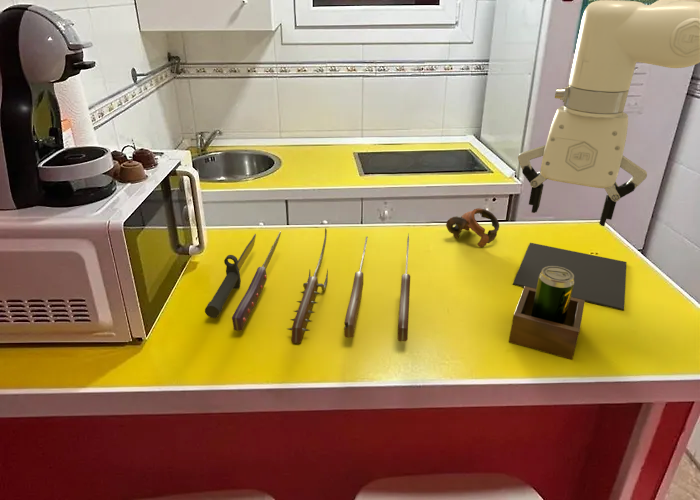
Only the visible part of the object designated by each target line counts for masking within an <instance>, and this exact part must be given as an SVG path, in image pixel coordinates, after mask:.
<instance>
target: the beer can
mask: <svg viewBox="0 0 700 500" xmlns="http://www.w3.org/2000/svg"><path fill="white" fill-rule="evenodd" d="M573 286H574V274H573V273H572V272H571V271H569V270H568V269H565V268H562V267H558V266H548V267H545V268H543V269H542V272H541V273H540V275H539V279H538V283H537V288H536V293H535V298H534V303H533V308H532V312H531V316H532V317H536V318H540V319H544V320H548V321H552V322H556V323H560V324H563V325H564V323H565V319H566V315H567V311H568V306H569V302H570V298H571V294H572V290H573Z"/></svg>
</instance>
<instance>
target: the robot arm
mask: <svg viewBox="0 0 700 500" xmlns="http://www.w3.org/2000/svg"><path fill="white" fill-rule="evenodd" d="M583 11H584V12H583V15H582V18H581V22H580V28H579V33H578V36H577V37H578V38H577V42H576V47H575V52H574V57H573V61H572V62H573V63H572V66H571V67H572V68H571V70H570V77H569V80H568V85H567V86H565V87H562V88H557V87H556V90H555V94H554V99H558V100H560V101H562V103H563V105H561V106H560V107H558V108H557V109H556V111H555V114H554V116H553V119H552V122H551V125H550V128H549V132H548V135H547V139H546V142H545V144H544V145H541V146H537V147H535V148H531V149H528V150H525V151H522V152H520V153H519V155H518V156H517V160H518V163H519V166H520V168H521V172H522V174H523V176H524V178H526V180H527V181H528V182H529V185H530V187H531V190H530V195H529V200H528V206H532V208H531V213H532V214H536V213H538V210H539V208H540V204H541V200H542V194H543V191H544V186H545V185H544V182H545V181H547V180H550V181H554V182H559V183H565V184H569V185H577V186H582V187H589V188H597V189H604V190H605V192H606V193H607V194H606V195H605V200H604V204H603V206H602V211H601V214H600V219H599V224H598V225H600V226H601V227H605V225H606V222H607V220H610V221H611V220H612V219H613V217H614V213H615V208H616V205H617V202H618V201H619V200H621V199H622V198H624V197H625V196H628V195H629V194H631V193H634V191H635V190H636V188H638V187H639V186H640V185H641V184H642V183H643V182H644V181H645V180H646V179H647V177H648V172H647V171H646V170H645V169H644V168H642V167H641V166H639V165H638V164H636V163H635V162H633V161H632V160H631V159H629V158H628V157H626V156H624V151H625V146H626V141H627V134H628V125H629V115H628V113H626V112H624V111H625V107H626V102H627V98H628V96H629V95H628V94H629V92H630V87H631V84H632V80H633V76H634V72H635V69H636V65H637V63H641V64H648V65H653V66H657V67H658V66H659V67H662V68H669V69H682V68H688V67H689V68H690V67H692V66H695V65H698V64H700V0H656V1H655V2H653V3H651V4H645V3H643V2H641V1H637V0H595V1H592V2H590V3H589V4H588V5H587V6H586V7H585V9H584V10H583ZM541 157H542V158H541ZM537 158H541V165H540V171H538V172H537V171H536V169H534V167H533V166H532V164H531V160H533V159H537ZM620 169H622V170H624V171H625V172H627V173H628V174H629V175H631V177H630V178H629V180H628V181H626V182H624V183H621V184H620V185H618V183H617V182H616V181H617V179H618V176H619V172H620Z"/></svg>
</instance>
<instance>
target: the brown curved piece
mask: <svg viewBox="0 0 700 500" xmlns="http://www.w3.org/2000/svg"><path fill="white" fill-rule="evenodd" d="M477 214H480V216H481V218H485V219H488V220H490V223H491V226H492V227H493V229H489V230H488V231H487V233H485V232H486V228H485V227H483V226H481V225H480V224H479V222H477V220H476V218H475V217H476V215H477ZM445 227H446V230H447V231H448V232H449V233H450V234H452V236H454V238H456V239H458V238H459V237H460V235H461V233H462V231H463V230H465V231H469V230H471V231H472V232H474V233H475V234H476V235H477V236H478V237H480V240H479V242H478V243H477V247H479V248H484V247H485V246H487V244H490V243H492V242H493V241H494V240H495V239H496V238H497V236H498V235H497V234H498V231H499V230H500V223H499V220H498V218H497V217H496V216H495V215H494V214H493V213H492V212H491V211H489V210H488V209H484V208H481V207H479V208H474V209H473V210H470V211H467V212H465V213H463V214H462V215H461V216H458V215H457V216H452V217H449V218H448V219H447V221H446V223H445Z"/></svg>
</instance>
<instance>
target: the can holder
mask: <svg viewBox="0 0 700 500" xmlns="http://www.w3.org/2000/svg"><path fill="white" fill-rule="evenodd" d="M535 293H536V289H534V288H530V287H526V286H524V287H523V289H522V292H521V294H520V297H519V300H518V302H517V305H516V307H515V310H514V313H513V316H512V321H511V328H510V332H509V338H508V343H511V344H514V345H517V346H522V347H524V348H528V349H532V350H536V351H539V352H543V353H546V354H550V355H553V356H558V357H560V358H565V359H567V360H568V359H569V360H573V359H574V354H575V351H576V347H577V344H578V343H577V342H578V339H579V335H580V331H581V326H582V320H583V314H584V308H585V303H586V302H585V300H581V299H577V298H573V297H571V298H570V302H569V306H568V311H567V315H566V319H565V323H564V325H563V324H560V323H556V322H552V321H548V320H544V319H540V318H536V317H532V316H531V312H532V308H533V303H534V298H535Z"/></svg>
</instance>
